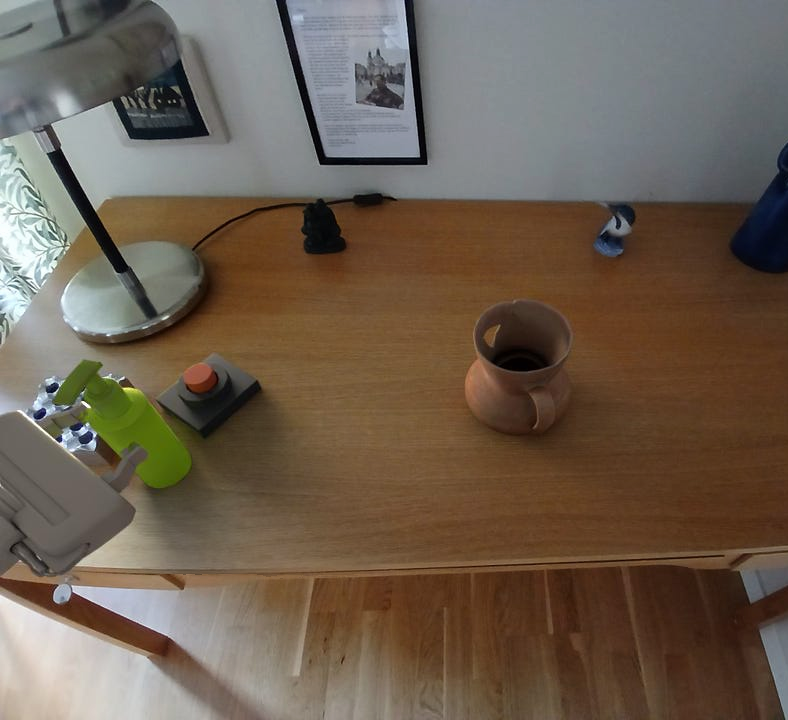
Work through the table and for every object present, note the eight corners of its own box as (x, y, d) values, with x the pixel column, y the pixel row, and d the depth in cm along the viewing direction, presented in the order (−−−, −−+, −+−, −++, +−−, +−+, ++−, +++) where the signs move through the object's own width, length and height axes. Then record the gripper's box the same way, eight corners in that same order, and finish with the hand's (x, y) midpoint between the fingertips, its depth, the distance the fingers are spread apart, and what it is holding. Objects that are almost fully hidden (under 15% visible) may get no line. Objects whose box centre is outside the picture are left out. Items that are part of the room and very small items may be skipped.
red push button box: (205, 439, 74) (193, 422, 71) (161, 408, 77) (148, 390, 74) (262, 389, 79) (253, 371, 76) (219, 361, 82) (209, 343, 79)
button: (201, 398, 74) (195, 388, 72) (183, 385, 75) (177, 376, 73) (222, 380, 75) (217, 370, 74) (205, 368, 77) (199, 359, 75)
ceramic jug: (452, 365, 82) (449, 295, 71) (545, 347, 85) (556, 277, 74) (483, 471, 71) (485, 408, 60) (589, 447, 73) (610, 382, 63)
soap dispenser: (128, 491, 69) (29, 397, 53) (158, 444, 73) (74, 344, 58) (172, 499, 68) (85, 406, 53) (200, 451, 73) (126, 351, 57)
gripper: (26, 576, 48) (163, 459, 55) (-88, 459, 55) (47, 369, 63) (67, 598, 53) (188, 488, 60) (-43, 488, 60) (78, 401, 67)
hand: (115, 426), depth 62 cm, fingers open, 8 cm apart
